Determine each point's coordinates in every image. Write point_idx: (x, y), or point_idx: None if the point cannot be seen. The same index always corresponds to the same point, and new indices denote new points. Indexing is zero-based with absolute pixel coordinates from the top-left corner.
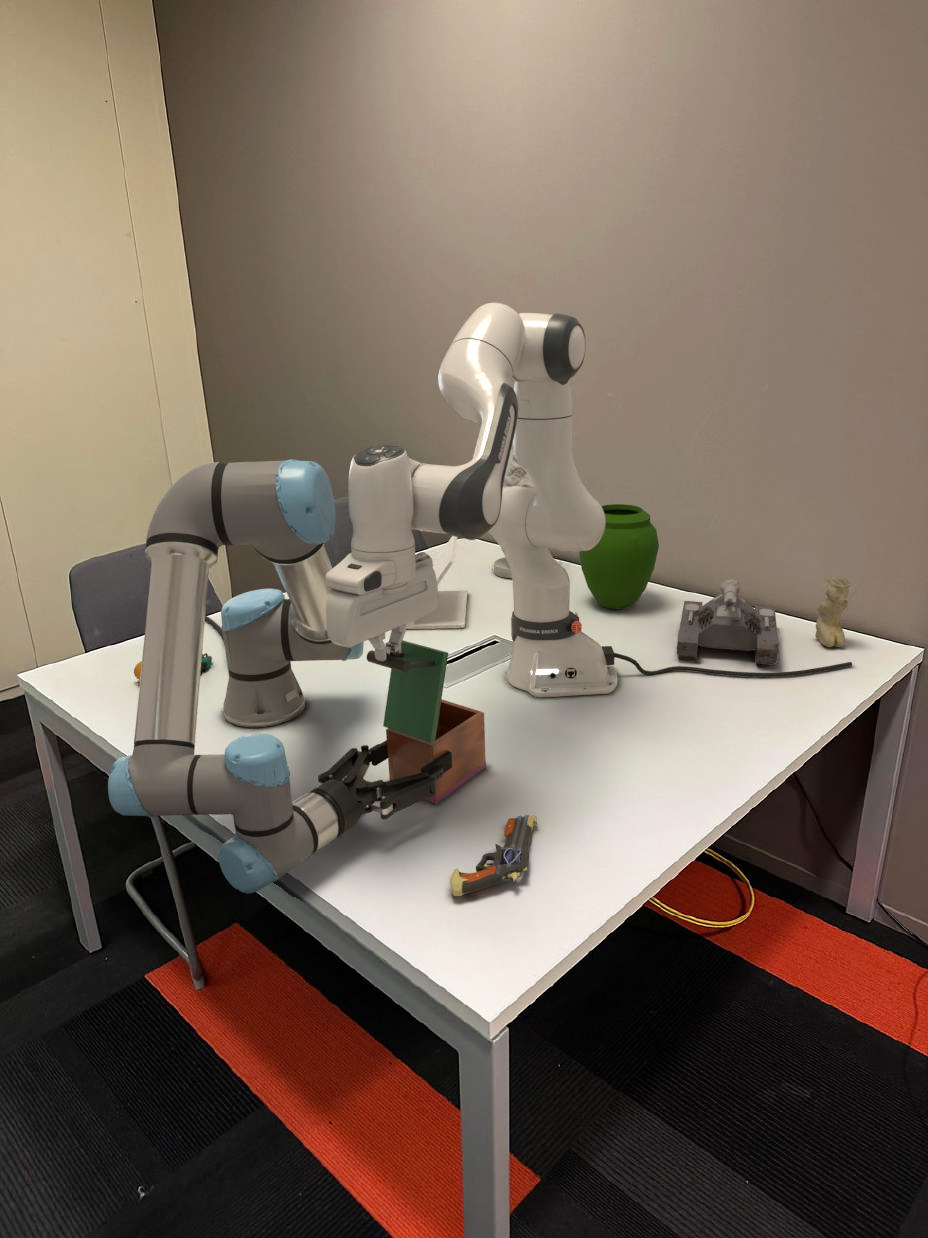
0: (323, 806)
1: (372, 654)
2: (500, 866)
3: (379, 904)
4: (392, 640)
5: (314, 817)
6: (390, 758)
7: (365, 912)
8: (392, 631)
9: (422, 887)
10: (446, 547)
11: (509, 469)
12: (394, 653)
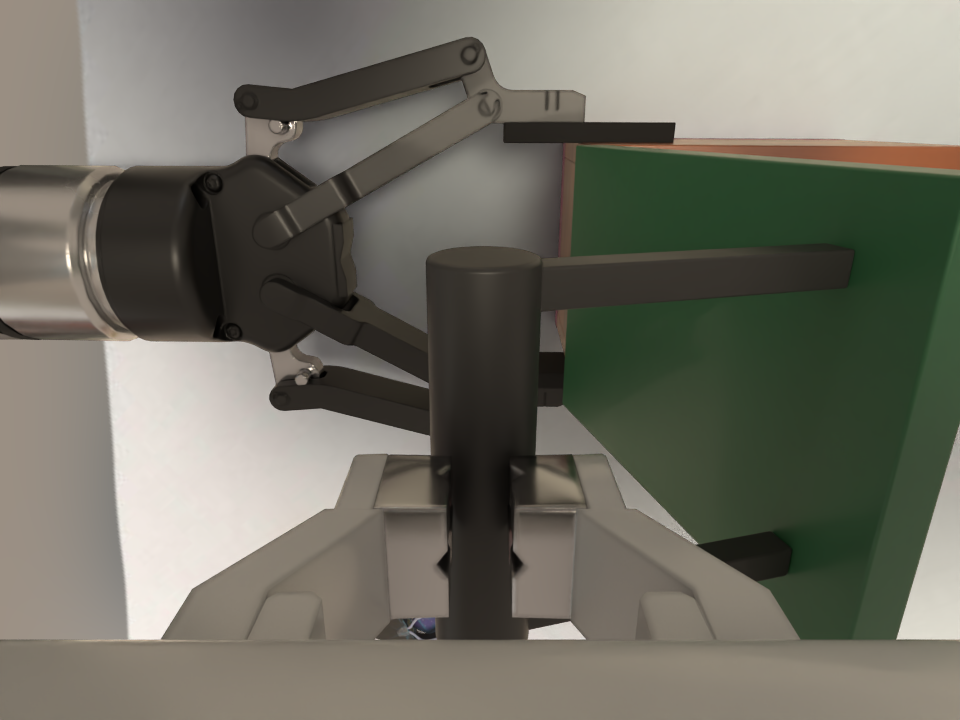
0: (71, 323)
1: (446, 330)
2: (392, 619)
3: (178, 454)
4: (585, 559)
5: (29, 330)
6: (573, 154)
7: (141, 447)
8: (662, 586)
9: (278, 490)
10: None
11: None
12: (509, 556)
